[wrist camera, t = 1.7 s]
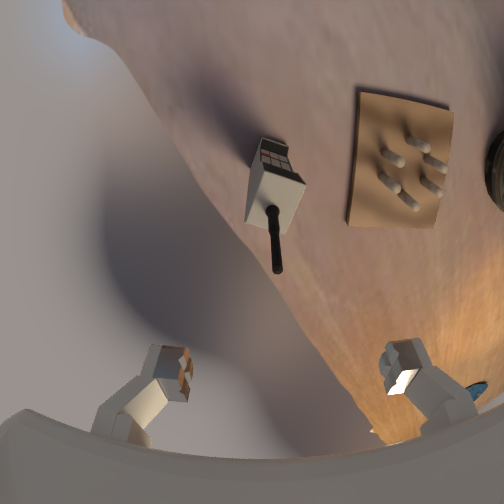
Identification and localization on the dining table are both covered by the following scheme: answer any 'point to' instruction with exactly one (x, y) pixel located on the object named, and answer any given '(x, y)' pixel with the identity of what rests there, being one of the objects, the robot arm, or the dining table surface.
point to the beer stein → (496, 171)
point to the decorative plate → (477, 390)
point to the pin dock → (398, 162)
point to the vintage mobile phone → (273, 194)
